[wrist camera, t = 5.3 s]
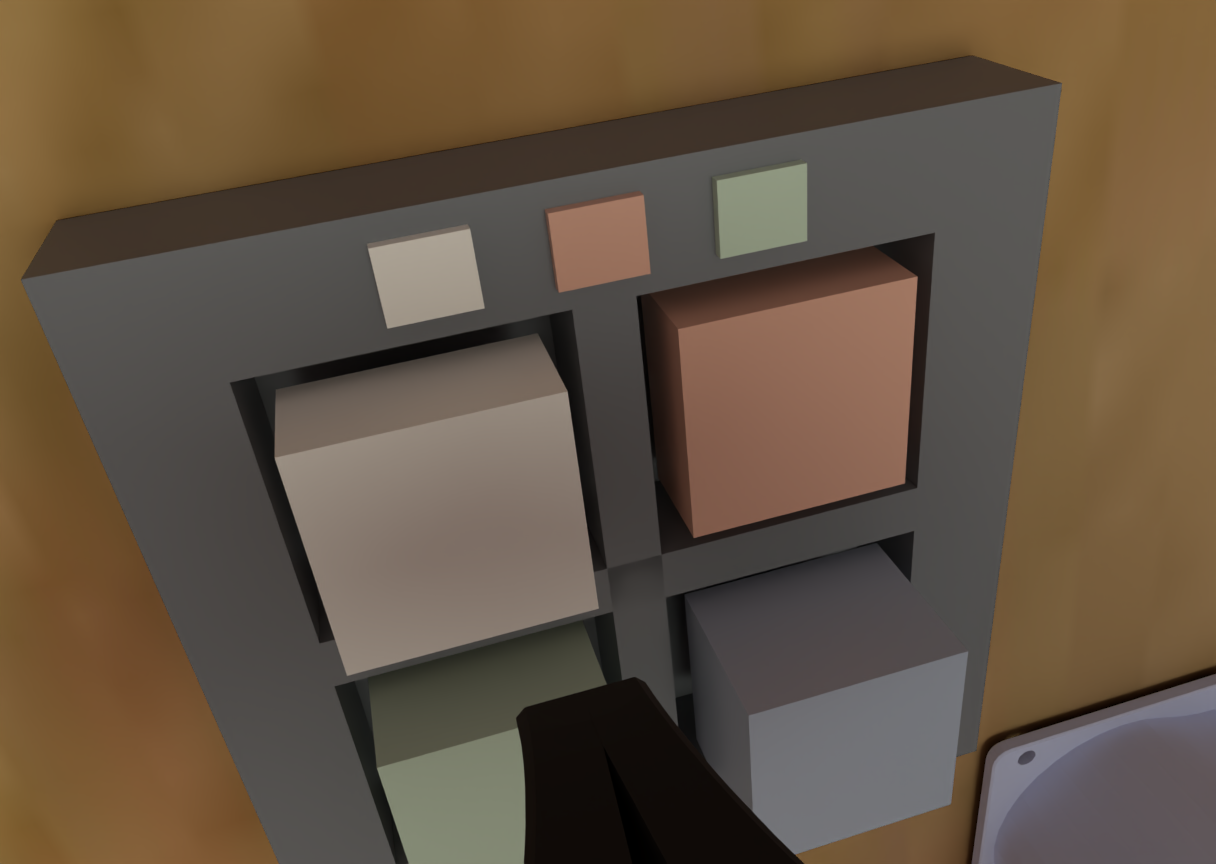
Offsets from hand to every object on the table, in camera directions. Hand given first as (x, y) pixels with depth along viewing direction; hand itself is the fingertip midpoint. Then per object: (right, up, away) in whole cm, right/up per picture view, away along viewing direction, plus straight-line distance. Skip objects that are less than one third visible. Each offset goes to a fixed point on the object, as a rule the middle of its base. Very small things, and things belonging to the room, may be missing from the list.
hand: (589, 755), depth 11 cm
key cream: (-3, +3, +5) cm, 7 cm away
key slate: (+4, -1, +10) cm, 10 cm away
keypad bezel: (0, +2, +9) cm, 9 cm away
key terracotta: (+3, +5, +7) cm, 9 cm away
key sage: (-2, -2, +9) cm, 10 cm away
